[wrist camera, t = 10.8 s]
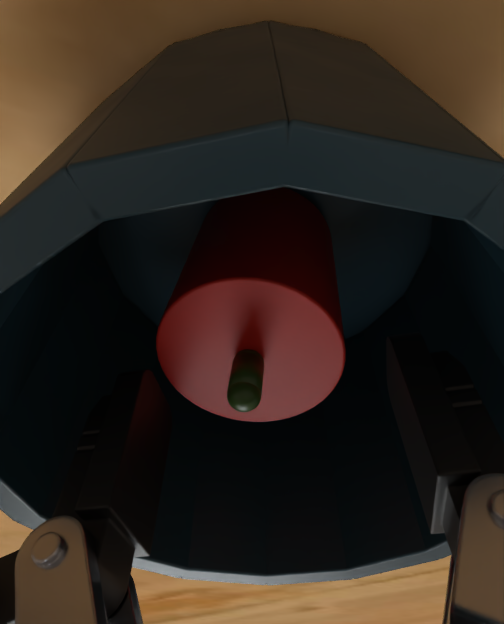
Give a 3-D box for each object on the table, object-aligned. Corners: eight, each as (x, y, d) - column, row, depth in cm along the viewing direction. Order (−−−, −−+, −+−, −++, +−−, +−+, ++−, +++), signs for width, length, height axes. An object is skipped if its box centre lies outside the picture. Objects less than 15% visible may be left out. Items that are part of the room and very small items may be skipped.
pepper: (183, 196, 15) (102, 334, 9) (324, 173, 14) (343, 308, 8) (217, 309, 18) (172, 476, 12) (337, 296, 17) (359, 468, 11)
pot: (-78, 100, 14) (-469, 277, 6) (584, -59, 11) (1225, -78, 4) (102, 386, 22) (27, 603, 15) (500, 331, 20) (647, 559, 12)
